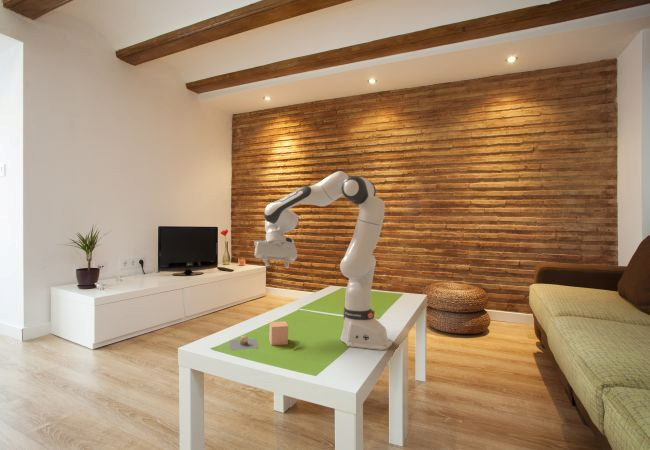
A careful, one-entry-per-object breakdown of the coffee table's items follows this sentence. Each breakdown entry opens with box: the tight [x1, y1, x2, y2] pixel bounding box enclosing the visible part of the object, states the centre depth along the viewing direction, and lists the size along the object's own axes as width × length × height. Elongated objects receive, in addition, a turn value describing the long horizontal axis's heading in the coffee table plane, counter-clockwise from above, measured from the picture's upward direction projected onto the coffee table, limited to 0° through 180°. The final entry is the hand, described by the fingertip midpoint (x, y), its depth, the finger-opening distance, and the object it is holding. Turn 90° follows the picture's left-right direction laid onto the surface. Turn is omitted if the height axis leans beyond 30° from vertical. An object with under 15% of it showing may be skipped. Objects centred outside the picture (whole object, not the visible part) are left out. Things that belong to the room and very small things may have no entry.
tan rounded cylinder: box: [239, 335, 249, 345], centre depth 144 cm, size 3×3×3 cm
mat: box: [229, 338, 260, 351], centre depth 144 cm, size 11×11×1 cm
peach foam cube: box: [268, 320, 289, 346], centre depth 148 cm, size 7×7×8 cm
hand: (277, 266), depth 162 cm, fingers open, 8 cm apart
